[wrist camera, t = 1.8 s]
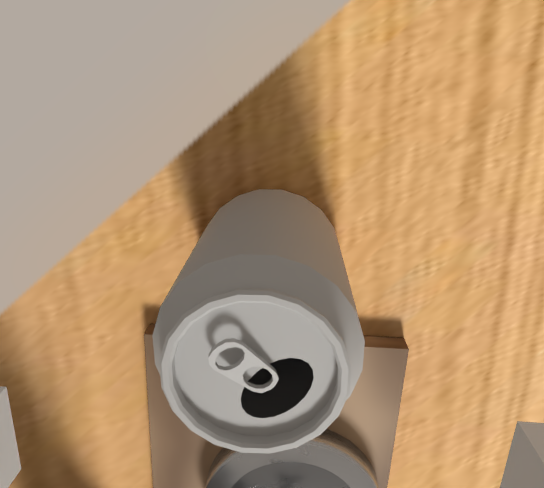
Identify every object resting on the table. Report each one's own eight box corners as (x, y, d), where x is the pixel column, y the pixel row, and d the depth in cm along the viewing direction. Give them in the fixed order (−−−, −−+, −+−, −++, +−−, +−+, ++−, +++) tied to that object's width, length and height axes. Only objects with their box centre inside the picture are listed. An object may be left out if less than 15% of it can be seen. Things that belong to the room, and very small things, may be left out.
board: (161, 534, 34) (156, 549, 33) (150, 323, 28) (144, 334, 27) (372, 548, 34) (375, 565, 32) (404, 338, 28) (408, 349, 27)
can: (270, 334, 28) (255, 508, 17) (176, 249, 27) (89, 377, 15) (367, 252, 26) (422, 387, 15) (271, 155, 25) (252, 223, 13)
